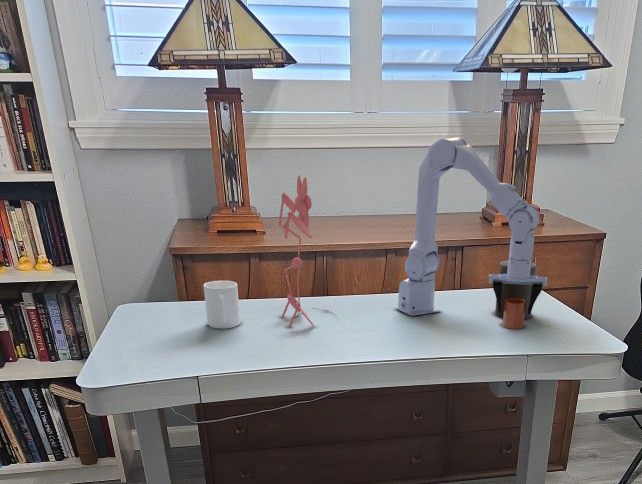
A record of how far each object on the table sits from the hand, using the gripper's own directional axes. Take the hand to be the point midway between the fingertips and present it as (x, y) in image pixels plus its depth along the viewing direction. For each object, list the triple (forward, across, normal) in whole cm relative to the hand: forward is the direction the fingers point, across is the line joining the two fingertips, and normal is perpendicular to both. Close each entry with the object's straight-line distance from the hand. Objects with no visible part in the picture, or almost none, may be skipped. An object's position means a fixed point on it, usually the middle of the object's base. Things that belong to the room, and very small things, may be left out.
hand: (514, 312), depth 181 cm
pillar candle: (+4, 0, -10) cm, 11 cm away
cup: (+4, +73, +16) cm, 75 cm away
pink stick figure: (+4, +53, +6) cm, 53 cm away
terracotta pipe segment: (+3, 0, 0) cm, 3 cm away
